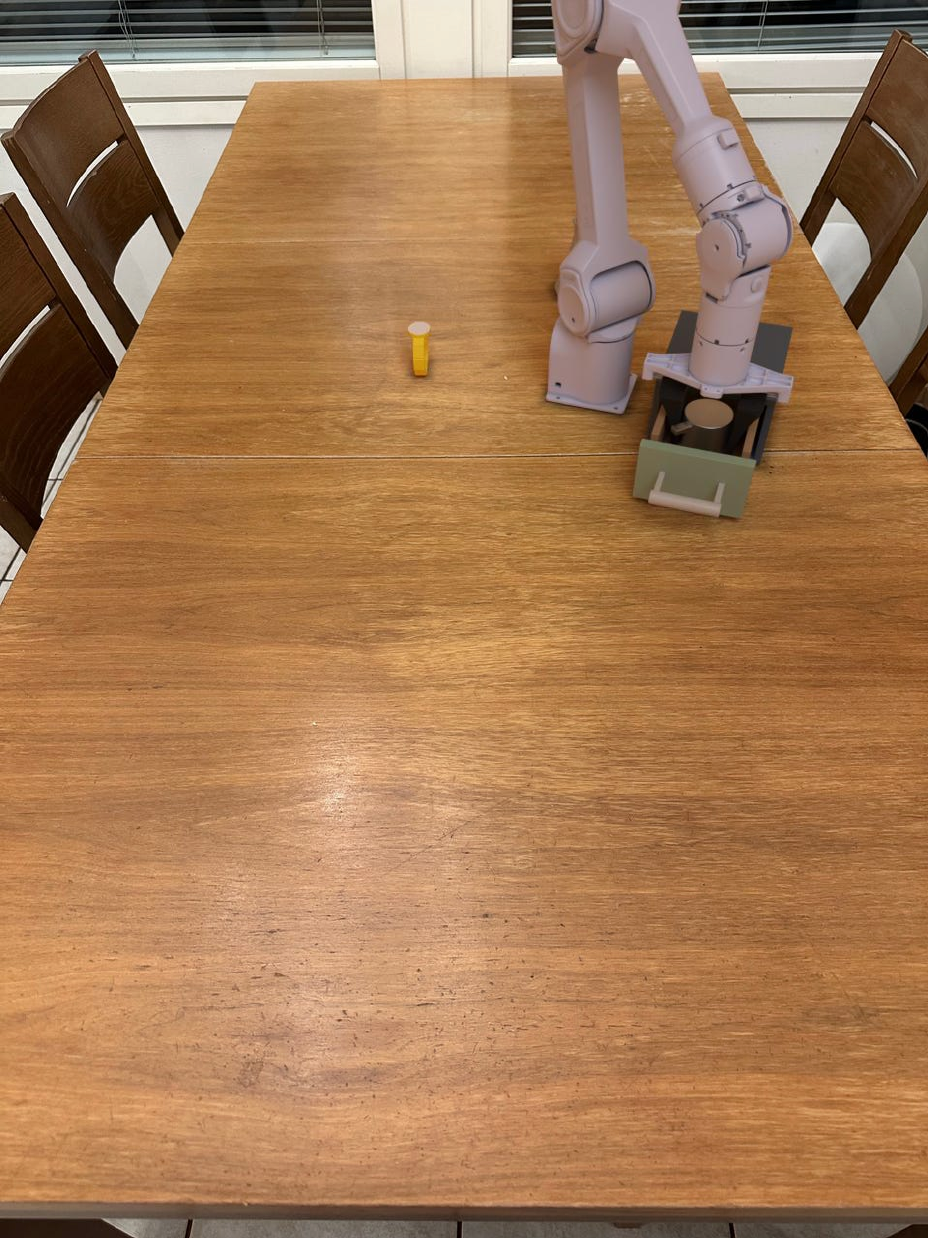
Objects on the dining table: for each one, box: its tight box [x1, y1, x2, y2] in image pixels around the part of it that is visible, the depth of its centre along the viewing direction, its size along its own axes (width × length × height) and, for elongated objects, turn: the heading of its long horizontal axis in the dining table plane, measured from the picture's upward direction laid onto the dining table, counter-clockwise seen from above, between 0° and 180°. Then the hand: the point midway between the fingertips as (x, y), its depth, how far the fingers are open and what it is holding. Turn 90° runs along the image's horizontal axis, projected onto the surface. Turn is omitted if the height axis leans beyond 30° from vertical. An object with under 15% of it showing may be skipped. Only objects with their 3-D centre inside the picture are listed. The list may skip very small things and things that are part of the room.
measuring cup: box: [671, 399, 734, 454], centre depth 100 cm, size 7×5×6 cm
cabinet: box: [646, 309, 794, 467], centre depth 107 cm, size 15×13×9 cm
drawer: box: [632, 392, 759, 520], centre depth 99 cm, size 18×11×7 cm, turn 161°
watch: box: [407, 321, 432, 377], centre depth 116 cm, size 6×3×6 cm, turn 178°
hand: (703, 443), depth 100 cm, fingers closed on drawer, 5 cm apart
